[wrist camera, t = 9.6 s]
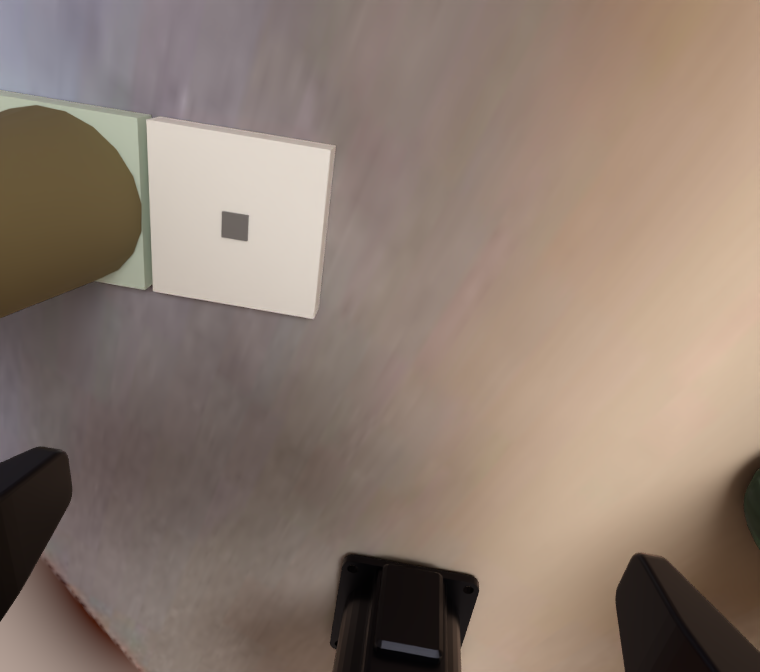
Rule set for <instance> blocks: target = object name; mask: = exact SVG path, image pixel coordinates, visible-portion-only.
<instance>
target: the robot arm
mask: <svg viewBox="0 0 760 672" xmlns="http://www.w3.org/2000/svg"><path fill="white" fill-rule="evenodd" d="M71 497H72V482H71V474H70V467H69V459H68V455H67V454H66V452H65V451H63V450H60V449H54V448H48V447H36V448H33V449H31V450H28V451H26V452H24V453H21V454H19V455H17V456H15V457H12V458H10V459H8V460H6V461H3V462H1V463H0V621H1V620H2V618H3V617H4V615H5V614H6V613H7V611H8V610H9V608H10V607H11V605H12V604H13V602H14V601H15V599H16V598H17V596H18V595H19V593H20V591H21V590H22V588H23V586H24V585H25V583H26V581H27V579H28V578H29V576H30V574H31V572H32V571H33V569H34V567H35V564H36V563H37V562H38V560H39V558H40V556H41V554H42V552H43V551H44V549H45V547H46V545H47V543H48V542H49V540H50V538H51V536H52V534H53V533H54V531H55V529H56V527H57V525H58V524H59V522H60V520H61V518H62V516H63V515H64V513H65V511H66V509H67V507H68V505H69V503H70V501H71ZM351 565H354V566H351ZM466 586H470V587H466ZM478 593H479V582H478V580H477V579H476V578H475V577H472V576H469V575H463V574H458V573H452V572H447V571H441V570H436V569H430V568H425V567H419V566H414V565H408V564H403V563H397V562H391V561H386V560H380V559H375V558H369V557H364V556H358V555H348V556H346V557H345V558H344V560H343V565H342V571H341V577H340V584H339V590H338V596H337V602H336V609H335V615H334V621H333V627H332V633H331V640H330V645H331V646H332V647H333V648H334V649H336V655H335V661H334V667H333V672H461V646H462V643H463V640H464V637H465V634H466V631H467V627H468V624H469V621H470V618H471V615H472V612H473V609H474V606H475V603H476V600H477V596H478ZM616 610H617V617H618V624H619V631H620V639H621V646H622V653H623V660H624V667H625V672H760V652H759V651H758V650H757V649H756V648H755V647H754V646H753V645H752V644H751V643H750V642H749V641H748V640H747V639H746V638H745V637H744V636H743V635H742V634H741V633H740V632H739V631H738V630H737V629H736V628H735V627H734V626H733V625H732V624H731V623H730V622H729V621H728V620H727V619H726V618H725V617H724V616H723V615H722V614H721V613H720V612H719V611H718V610H717V609H716V608H715V607H714V606H713V605H712V604H711V603H710V602H709V601H708V600H707V599H706V598H705V597H704V596H703V595H702V594H701V593H700V592H699V591H698V590H697V589H696V588H695V587H694V586H693V585H692V584H691V583H690V582H689V581H688V580H687V579H686V578H685V577H684V576H683V575H682V574H681V573H680V572H679V571H678V570H677V569H676V568H675V567H674V566H673V565H672V564H671V563H670V562H669V561H667V560H666V559H665V558H663V557H661V556H657V555H651V554H646V553H636V554H634V555H633V556H632V558H631V560H630V562H629V564H628V566H627V568H626V570H625V572H624V574H623V576H622V578H621V580H620V583H619V585H618V587H617V590H616Z"/></svg>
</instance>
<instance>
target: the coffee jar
mask: <svg viewBox="0 0 760 672" xmlns="http://www.w3.org/2000/svg"><path fill="white" fill-rule="evenodd" d="M744 513H745V518H746V521H747V525H748V528H749V530H750V532H751V534H752V537H753V539H754V541H755V543H756V545H757V546H758V548H759V550H760V468H759V469H758V470H757V471H756V473H755V474H754V476H753V478H752V480H751V482H750V484H749V485H748V487H747V490H746V493H745V497H744Z"/></svg>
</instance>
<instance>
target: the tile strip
mask: <svg viewBox="0 0 760 672" xmlns="http://www.w3.org/2000/svg"><path fill="white" fill-rule="evenodd" d="M32 105H39V106H44V107H48V108H53V109H57V110H62V111H66V112H68V113H69V114H71V115H73V116H75V117H77V118H78V119H80V120H82V121H84V122H86V123H87V124H89V125H91V126H93V127H94V128H95V129H96V130H97V131H98V132H99V133H100V134H101V135H102V136H103V137H104V138H105V139H106V140H107V141H108V142H109V143H110V144H111V145H113V146H114V147H115V148H116V149H117V151H118V153H119V154H120V156H121V157H122V159H123V161H124V162H125V164H126V166H127V167H128V169H129V170H130V172H131V174H132V175H133V177H134V181H135V184H136V188H137V191H138V194H139V198H140V201H141V204H142V220H141V234H140V236H139V239H138V242H137V245H136V247H135V250H134V253H133V254H132V255H131V257H130V258H129V259H128V260H127V261H126V262H125V263H124V264H123V265H122V266H121V268H120V269H119V270H117V271H115V272H113V273H111V274H109V275H107V276H105V277H102V278H100V279H98V280H96V281H95V282H101V283H107V284H113V285H118V286H124V287H130V288H136V289H142V290H146V289H147V288H148V287H150V286H151V285H152V284H153V292H159V293H165V294H171V295H177V296H182V297H188V298H194V299H200V300H206V301H211V302H217V303H223V304H229V305H235V306H240V307H246V308H252V309H258V310H264V311H269V312H275V313H281V314H287V315H293V316H299V317H304V318H310V319H314V317H315V315H316V313H317V311H318V309H319V303H320V293H321V284H322V274H323V264H324V255H325V245H326V236H327V226H328V217H329V207H330V197H331V188H332V178H333V169H334V159H335V150H336V145H330V144H323V143H317V142H311V141H305V140H299V139H293V138H287V137H281V136H275V135H269V134H263V133H257V132H251V131H245V130H239V129H233V128H227V127H221V126H215V125H209V124H203V123H197V122H191V121H184V120H178V119H172V118H166V117H155V118H151V115H148V114H142V113H136V112H130V111H124V110H118V109H112V108H106V107H100V106H94V105H88V104H82V103H76V102H70V101H64V100H58V99H51V98H45V97H39V96H33V95H27V94H21V93H15V92H9V91H3V90H0V112H1V111H4V110H7V109H10V108H17V107H24V106H32Z"/></svg>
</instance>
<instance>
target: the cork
mask: <svg viewBox="0 0 760 672" xmlns="http://www.w3.org/2000/svg"><path fill="white" fill-rule="evenodd" d="M141 220H142V204H141V201H140V198H139V194H138V191H137V188H136V184H135V181H134V177H133V175H132V174H131V172H130V170H129V169H128V167H127V166H126V164H125V162H124V161H123V159H122V157H121V156H120V154H119V153H118V151H117V149H116V148H115V147H114V146H113V145H111V144H110V143H109V142H108V141H107V140H106V139H105V138H104V137H103V136H102V135H101V134H100V133H99V132H98V131H97V130H96V129H95V128H94V127H93V126H91V125H89V124H87V123H86V122H84V121H82V120H80V119H78V118H77V117H75V116H73V115H71V114H69V113H68V112H66V111H62V110H57V109H53V108H48V107H44V106H39V105H32V106H24V107H17V108H10V109H7V110H4V111H1V112H0V318H2V317H5V316H7V315H10V314H12V313H15V312H17V311H20V310H22V309H25V308H27V307H30V306H32V305H35V304H37V303H40V302H43V301H45V300H48V299H50V298H53V297H55V296H58V295H60V294H63V293H65V292H68V291H70V290H73V289H75V288H78V287H81V286H83V285H86V284H88V283H91V282H93V281H96V280H98V279H100V278H102V277H105V276H107V275H109V274H111V273H113V272H115V271H117V270H119V269H120V268H121V266H122V265H123V264H124V263H125V262H126V261H127V260H128V259H129V258H130V257H131V255H132V254H133V253H134V250H135V247H136V245H137V242H138V239H139V236H140V234H141Z"/></svg>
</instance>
